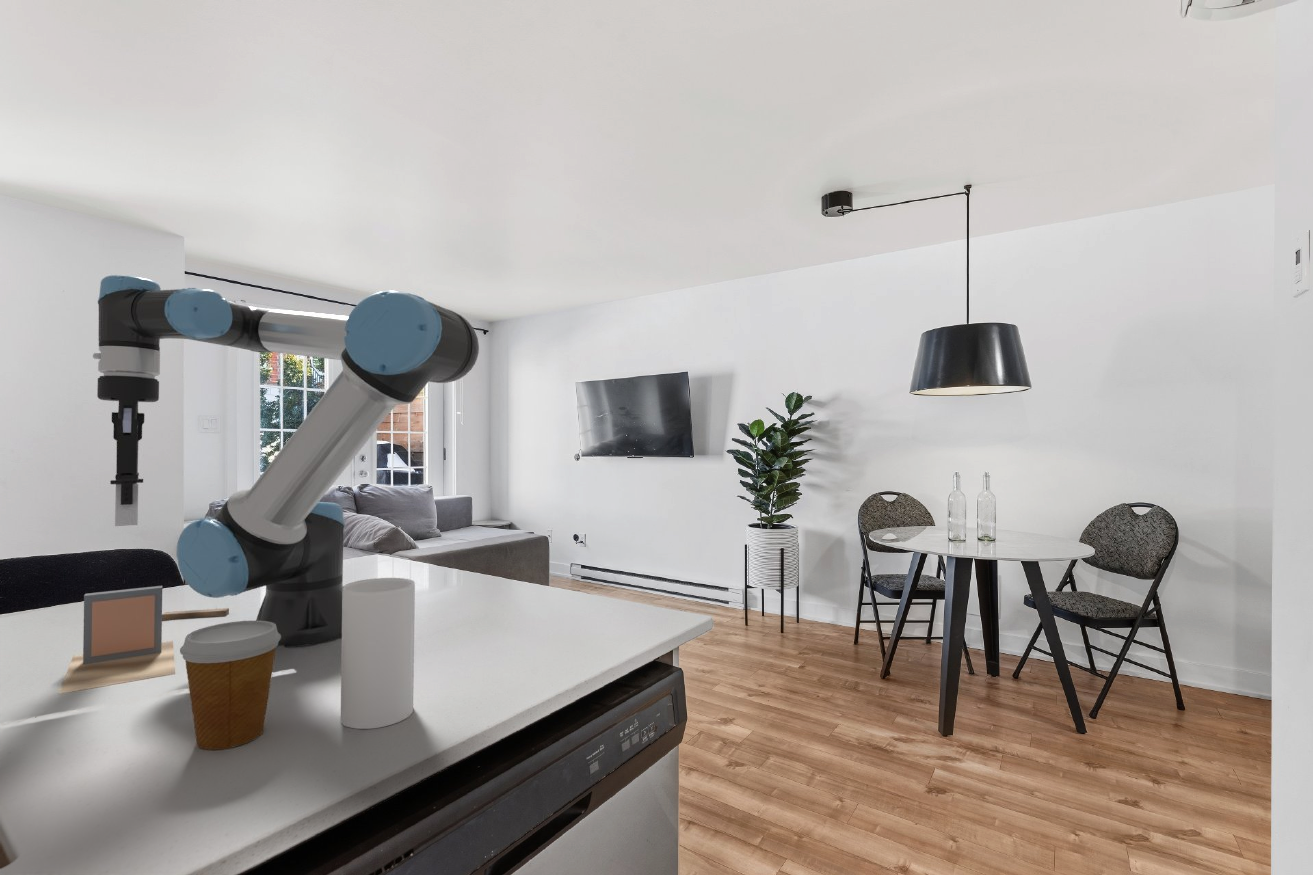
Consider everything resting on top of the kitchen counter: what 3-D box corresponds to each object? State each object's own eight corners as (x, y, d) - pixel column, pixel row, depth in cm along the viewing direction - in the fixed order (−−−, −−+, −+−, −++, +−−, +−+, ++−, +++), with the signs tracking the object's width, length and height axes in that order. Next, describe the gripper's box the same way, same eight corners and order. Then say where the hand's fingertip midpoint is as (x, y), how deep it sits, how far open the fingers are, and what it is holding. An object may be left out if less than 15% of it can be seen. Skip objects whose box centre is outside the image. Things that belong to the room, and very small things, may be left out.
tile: (84, 661, 94) (85, 593, 94) (161, 649, 99) (162, 585, 99) (82, 664, 92) (84, 596, 92) (161, 652, 98) (162, 587, 98)
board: (73, 659, 96) (73, 655, 96) (172, 644, 103) (172, 640, 103) (58, 698, 82) (58, 693, 82) (175, 677, 89) (175, 673, 89)
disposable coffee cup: (212, 719, 76) (213, 619, 76) (294, 717, 77) (296, 618, 77) (156, 759, 67) (158, 645, 67) (251, 756, 68) (253, 643, 68)
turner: (232, 613, 122) (232, 605, 122) (221, 622, 117) (221, 613, 117) (115, 621, 117) (115, 612, 117) (98, 630, 111) (98, 621, 111)
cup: (367, 735, 73) (369, 595, 73) (326, 718, 77) (328, 586, 77) (427, 710, 80) (428, 582, 80) (386, 695, 84) (388, 574, 84)
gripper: (100, 377, 104) (98, 522, 103) (94, 371, 93) (91, 531, 93) (159, 380, 108) (156, 519, 108) (159, 375, 98) (156, 528, 98)
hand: (126, 524), depth 101 cm, fingers closed
